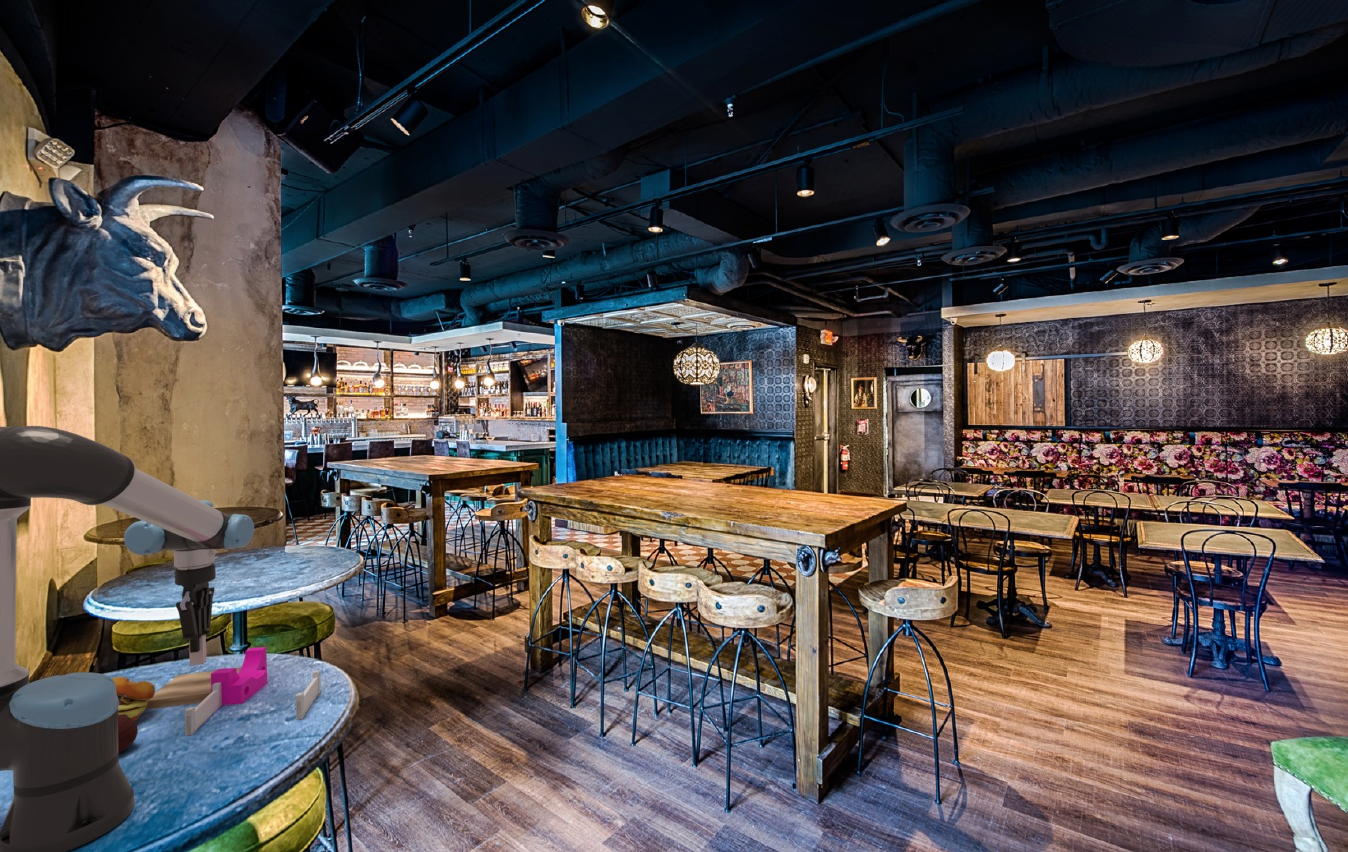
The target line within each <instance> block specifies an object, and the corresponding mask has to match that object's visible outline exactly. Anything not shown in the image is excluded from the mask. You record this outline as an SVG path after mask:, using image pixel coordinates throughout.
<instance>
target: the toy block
mask: <svg viewBox="0 0 1348 852" xmlns="http://www.w3.org/2000/svg"><path fill="white" fill-rule="evenodd" d="M267 653H268V652H267V647H266V646H262V647H261V646H260V647H250V648H248V649H246V650H245V652H244V659H243V662H242V665H241V667H240V668H241V669H240V671H239V673H238V674H237V670H236V668H237V667H226V668H223V667H222V668H217V669H215V670H213V671H214V672H213V673H211V693H212V692H213V690H212V685H213V684H215V683H220V682H221V694H222V705H221V706H230V705H231V706H232V705H242V704H243V703H245V702H246V701H247V700H249V699H250V698H251V697H253V695H255V694H256V693H257V692H259V690H261V689H263V688H264V686H266V685H268V665H267V663H268V661H267V660H268V659H267V657H268V656H267Z"/></svg>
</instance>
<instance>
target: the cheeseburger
mask: <svg viewBox="0 0 1348 852" xmlns="http://www.w3.org/2000/svg"><path fill="white" fill-rule="evenodd" d="M111 679H112V680H113V681H114V682H115V685H116V692H117V696H118V701H119V706H118V715H125V716H127V717H129V718H132V719H134V721H135V722H136V720H138V719H139V718H140V716H141V715H142V714H143V713H144V711H145V710H146V709H145V708H146V706H147V703H148V700H150V699H152V698H153V696H154V694H155V693H156V689H155V685H154V684H153V683H152V682H149V681H145V680H143V681H142V680H141V681H137V682H135V681H133V680H130V679H129V678H127V677H126V676H125V677H123V676H115V677H111Z"/></svg>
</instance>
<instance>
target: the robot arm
mask: <svg viewBox="0 0 1348 852" xmlns="http://www.w3.org/2000/svg"><path fill="white" fill-rule="evenodd" d="M32 498H33V499H34V498H36V499H37V498H38V499H39V498H40V499H41V498H42V499H43V498H49V499H50V498H51V499H63V500H64V499H65V500H70V501H74V502H78V503H80V504H82V505H87V506H100V505H103V506H104V507H105V506H106V507H108V508H110V509H113V510H115V511H118V512H120V513H123V514H126V515H128V516H130V517H133V518H135V519H137V520H139V521H136V522H134V523H132V524H130V525H129V526H128V527H127V528H126V529H125V532H124V534H123V536H124V537H123V540H124V541H123V542H124V545H125V547H126V549H127V550H128V551H129V552H130V553H132V554H134V555H138V556H147V555H155V554H157V553H160V552H170V551H172V552H173V566H174V567H175V570H174V584H175V585H176V586H179V587H180V586H181V587H182V592H181V599H182V600H181V601H177V602H176V604H175V607H176V610H177V611H178V617H179V622H180V628H181V633H182V639H183V640H188V646H189V647H188V649H189V650H188V651H189V652H188V653H189V667H190V666H198V665H200V666H201V665H205V663H207V645H206V644H207V643H206V642H207V641H206V637H207V635H209V634H211V632H212V631H211V629H210V628H211V626H212V625H211V622H212V610H213V599H214V594H215V587H210V584H209V582H212V581H214V580H215V579H216V576H217V575H216V574H217V573H216V564H215V563H214V562H215V561H216V559H215V558H216V555H217V553H218V550H230V549H231V550H232V549H240V548H244V547H246V546H247V545H249V543H250V542H251V541H252V540H253V535H254V533H255V524H254V521H253V519H252V518H251V517H250V516H249V515H247V514H239V513H233V514H227V513H225V512H223V511H221V510H218V509H216V508H215V507H214V504H213V502H212V501H210V500H207V499H198V498H195V497H193V496H191V495H189V494H187V493H185V492H183V491H181V490H179V489H177V488H175V487H174V486H172V485H170V484H168V483H165V482H164V481H161V480H160V479H158V478H156V477H155V476H152V475H150V474H148V473H146V472H144V471H142V470H140V469H138V468H137V467H136V464H135V462H134V461H133V459H131V458H130V457H128V456H126V455H124V454H123V453H121V452H119V451H118V450H116V449H113V448H111V447H108V446H106V445H105V444H103V443H100V442H97V441H95V440H93V439H90V438H88V437H85V436H82V435H79V434H77V433H73V432H71V431H68V430H64V429H61V428H54V427H50V426H49V427H48V426H42V425H22V426H20V425H19V426H18V425H17V426H14V425H13V426H0V772H2V771H3V772H4V771H12V780H13V783H12V784H13V797H12V799H11V803H10V806H9V808H8V810H7V813H6V816H5V819H4V821H3V824H2V826H1V828H0V852H68V851H71V850H73V849H76V848H78V847H80V846H81V847H82V846H83V845H86V844H87V843H89V842H91V841H93V840H96V839H97V838H99V837H100V836H103V835H104V834H106V833H108V832H109V831H111V830H113V829H114V828H115V827H117V826H119V825H120V824H121V823H123V822H124V821H125V820H126V818H128V816H129V815H130V814H131V813H132V812H133V810H134V808H135V792H134V788H133V787H132V785H131V784H130V782H129V779H128V778H127V776H126V774H125V773H124V770H123V769H122V766H121V765H120V762H119V761H120V760H119V753H118V706H119V701H118V696H117V692H116V685H115V682H114V681H113V680H112V677H110V676H108V675H105V674H102V673H97V672H88V671H87V672H85V671H84V672H72V673H71V672H70V673H69V672H68V673H67V674H65V675H61V674H57V675H52V676H48V677H45V678H44V677H43V678H41V679H38V680H35V681H32V682H30V670H29V669H28V668H26V667H24V666H22V665H20V664H18V663H17V662H16V657H17V655H16V654H17V652H16V651H17V650H16V649H17V648H16V647H17V644H16V643H17V641H16V639H17V554H18V553H17V543H18V541H17V535H18V534H17V533H18V532H17V531H18V530H17V529H18V527H17V526H18V518H19V517H20V516H21V515H22V514H24V513H25V512H26V511H28V510H29V509H30V508H31V505H32V501H31V500H32Z"/></svg>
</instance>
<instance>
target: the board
mask: <svg viewBox="0 0 1348 852" xmlns="http://www.w3.org/2000/svg"><path fill="white" fill-rule="evenodd" d="M235 668H236V670H237V674H238V673H239V671H240V669H241V667H235ZM214 671H215V670H208V671H200V672H191V673H185V674H178V675H176V676H175V677H174V678H172V680H170V681H169V682H168V683H165V685H163V686H162V687H161V688H160V689H159V690H157V691H155V693H154V696H153V698H152V699H150V700H148V703H147V706H146V708H145V710H151V709H160V708H168V707H176V706H183V705H185V706H186V705H194V704H200V703H201V702H202V701H203V700H204V699H205V698H206V697H207V696H208V695H209V694H211V673H213V672H214Z"/></svg>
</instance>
